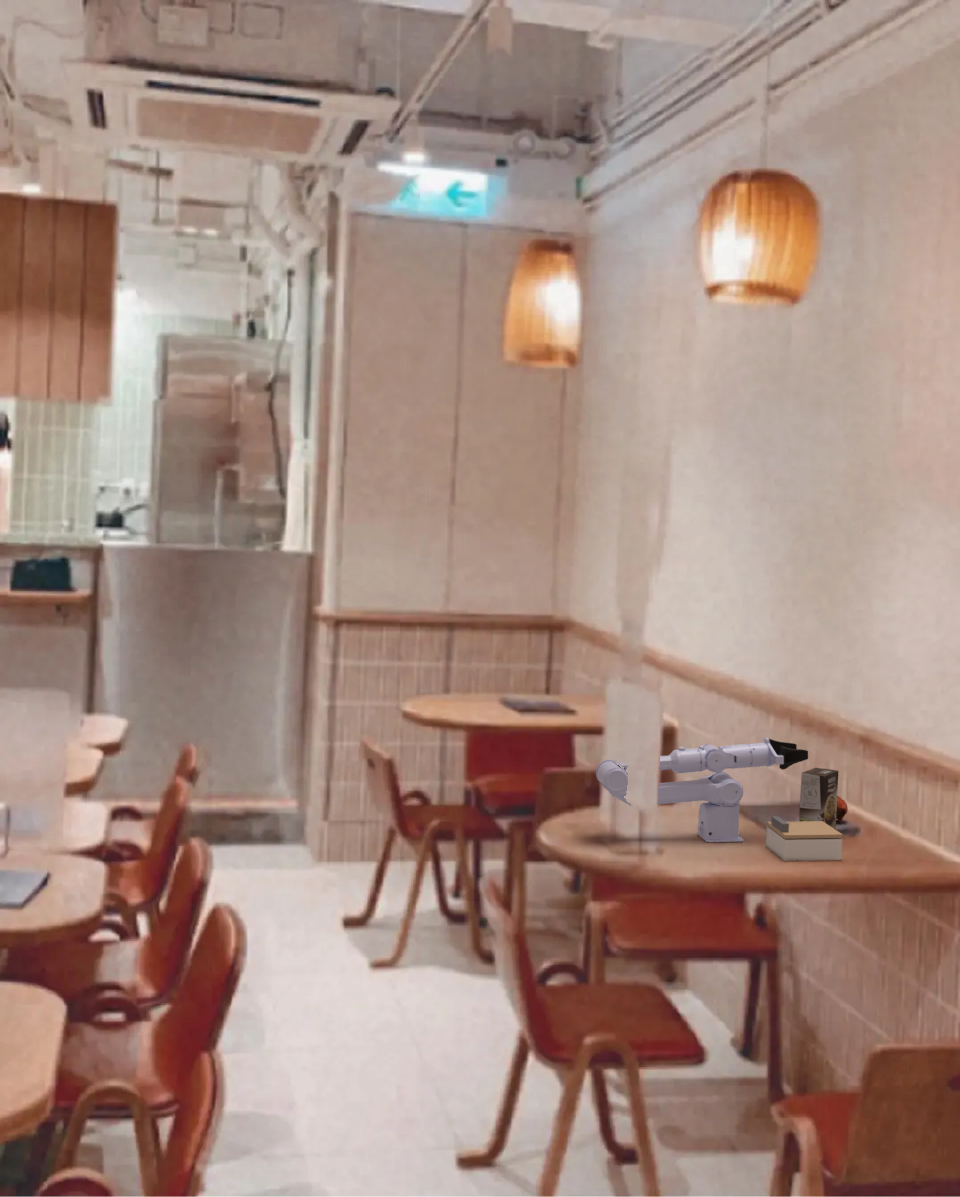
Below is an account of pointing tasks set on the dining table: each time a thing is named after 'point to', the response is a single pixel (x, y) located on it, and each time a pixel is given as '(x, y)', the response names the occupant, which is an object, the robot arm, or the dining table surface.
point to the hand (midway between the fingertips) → (801, 751)
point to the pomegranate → (841, 808)
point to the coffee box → (819, 796)
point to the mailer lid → (803, 829)
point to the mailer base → (803, 847)
